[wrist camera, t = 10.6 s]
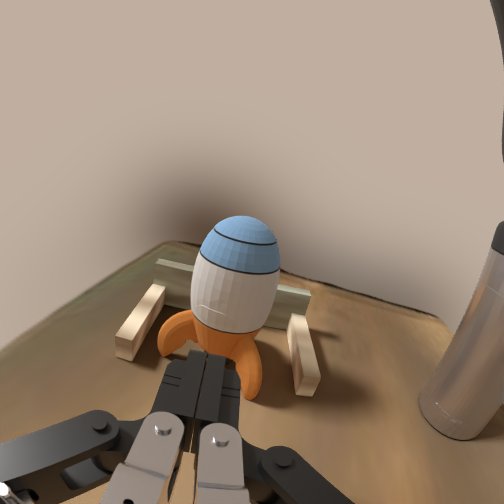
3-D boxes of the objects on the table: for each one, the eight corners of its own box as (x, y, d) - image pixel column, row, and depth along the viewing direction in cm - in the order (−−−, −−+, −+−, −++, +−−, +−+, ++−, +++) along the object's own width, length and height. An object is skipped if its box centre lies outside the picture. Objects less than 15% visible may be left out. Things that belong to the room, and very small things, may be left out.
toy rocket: (230, 333, 35) (291, 218, 30) (279, 405, 28) (369, 283, 22) (146, 334, 29) (198, 193, 23) (185, 426, 21) (272, 272, 16)
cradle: (312, 396, 26) (331, 355, 24) (115, 356, 25) (115, 310, 23) (297, 325, 38) (308, 290, 37) (155, 295, 37) (159, 258, 36)
